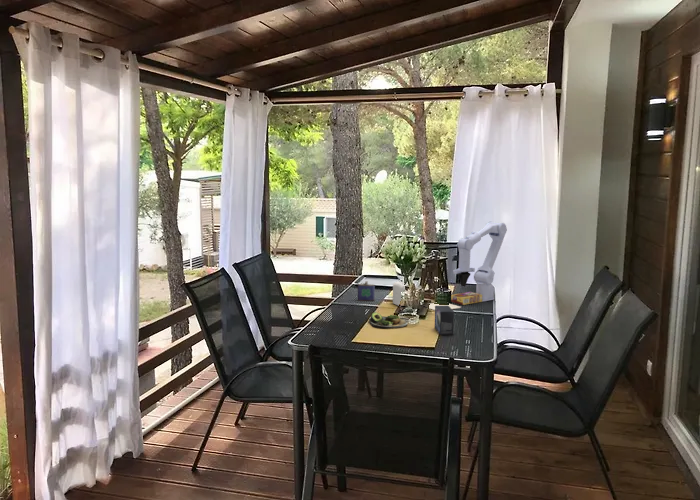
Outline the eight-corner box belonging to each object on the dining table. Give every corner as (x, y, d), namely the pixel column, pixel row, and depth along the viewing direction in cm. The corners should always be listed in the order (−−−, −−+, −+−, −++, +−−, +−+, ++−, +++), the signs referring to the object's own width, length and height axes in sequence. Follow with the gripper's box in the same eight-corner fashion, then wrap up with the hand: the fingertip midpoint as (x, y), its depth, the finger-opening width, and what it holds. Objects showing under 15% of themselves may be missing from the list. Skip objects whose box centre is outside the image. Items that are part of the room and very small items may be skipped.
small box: (433, 327, 244) (434, 305, 242) (447, 327, 245) (448, 305, 243) (439, 334, 234) (440, 311, 232) (453, 334, 234) (454, 311, 233)
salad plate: (403, 317, 261) (404, 308, 261) (416, 328, 244) (416, 318, 244) (365, 319, 257) (365, 310, 256) (375, 330, 240) (375, 320, 239)
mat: (442, 302, 293) (442, 301, 293) (461, 307, 282) (461, 306, 281) (420, 305, 284) (420, 305, 284) (438, 311, 273) (438, 310, 273)
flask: (374, 300, 296) (374, 280, 294) (374, 301, 293) (374, 282, 292) (357, 299, 296) (357, 280, 295) (357, 301, 294) (357, 281, 292)
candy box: (462, 305, 287) (482, 301, 295) (463, 298, 286) (482, 294, 294) (450, 302, 294) (470, 298, 302) (450, 294, 293) (470, 291, 302)
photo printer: (391, 303, 289) (392, 280, 287) (398, 302, 291) (398, 280, 289) (401, 307, 280) (402, 284, 278) (408, 307, 282) (409, 283, 280)
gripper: (468, 258, 296) (467, 283, 298) (449, 260, 288) (448, 285, 290) (478, 260, 290) (476, 285, 292) (459, 262, 282) (457, 288, 284)
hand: (463, 285), depth 291 cm, fingers closed
